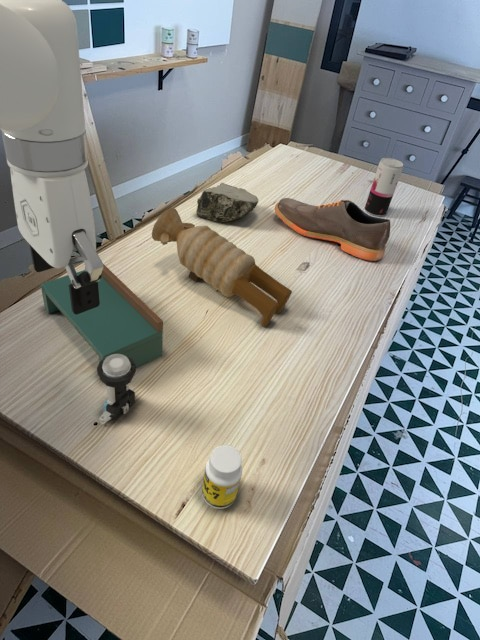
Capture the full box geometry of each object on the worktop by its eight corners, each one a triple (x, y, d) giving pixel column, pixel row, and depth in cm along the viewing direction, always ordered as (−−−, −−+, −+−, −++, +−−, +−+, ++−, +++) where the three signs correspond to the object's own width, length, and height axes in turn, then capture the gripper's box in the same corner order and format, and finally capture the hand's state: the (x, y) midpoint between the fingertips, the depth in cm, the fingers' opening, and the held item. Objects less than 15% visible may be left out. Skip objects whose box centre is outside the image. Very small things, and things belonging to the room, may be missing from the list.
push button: (114, 434, 68) (111, 388, 62) (87, 417, 70) (81, 371, 63) (143, 405, 73) (143, 360, 66) (117, 389, 74) (114, 344, 68)
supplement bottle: (194, 488, 63) (199, 452, 58) (222, 471, 66) (229, 435, 60) (215, 516, 60) (221, 482, 55) (243, 498, 63) (252, 463, 58)
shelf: (105, 382, 75) (102, 346, 70) (45, 309, 87) (38, 274, 81) (162, 355, 81) (163, 321, 76) (99, 290, 93) (96, 257, 88)
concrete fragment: (209, 187, 130) (256, 168, 123) (221, 223, 132) (268, 207, 125) (183, 193, 117) (234, 172, 110) (197, 233, 120) (248, 215, 112)
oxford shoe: (283, 208, 131) (291, 169, 124) (389, 248, 122) (404, 209, 114) (265, 222, 124) (272, 182, 116) (376, 267, 114) (392, 225, 106)
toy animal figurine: (279, 319, 99) (173, 243, 106) (301, 277, 91) (184, 198, 97) (255, 343, 92) (143, 260, 99) (276, 300, 84) (152, 213, 91)
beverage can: (362, 212, 136) (378, 162, 127) (366, 204, 141) (382, 155, 131) (384, 219, 135) (402, 169, 125) (387, 210, 140) (405, 161, 130)
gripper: (-28, 122, 48) (5, 262, 59) (50, 190, 39) (71, 340, 50) (44, 114, 52) (62, 246, 63) (128, 174, 43) (132, 315, 54)
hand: (66, 287), depth 56 cm, fingers open, 9 cm apart
